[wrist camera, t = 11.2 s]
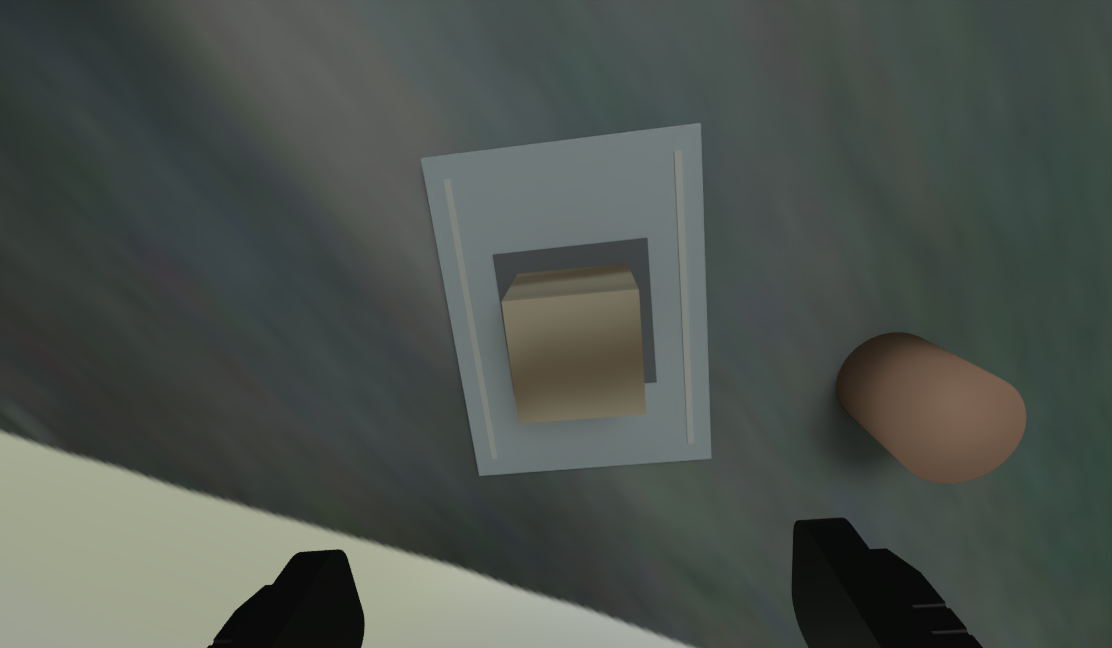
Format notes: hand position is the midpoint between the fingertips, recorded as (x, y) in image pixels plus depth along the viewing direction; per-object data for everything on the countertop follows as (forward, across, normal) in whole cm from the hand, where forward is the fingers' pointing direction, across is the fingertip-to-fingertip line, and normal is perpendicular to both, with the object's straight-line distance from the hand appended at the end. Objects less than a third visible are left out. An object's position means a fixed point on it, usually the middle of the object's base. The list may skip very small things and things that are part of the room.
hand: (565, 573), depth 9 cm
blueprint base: (+17, 0, 0) cm, 17 cm away
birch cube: (+16, 0, 0) cm, 16 cm away
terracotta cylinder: (+17, -15, +5) cm, 23 cm away
